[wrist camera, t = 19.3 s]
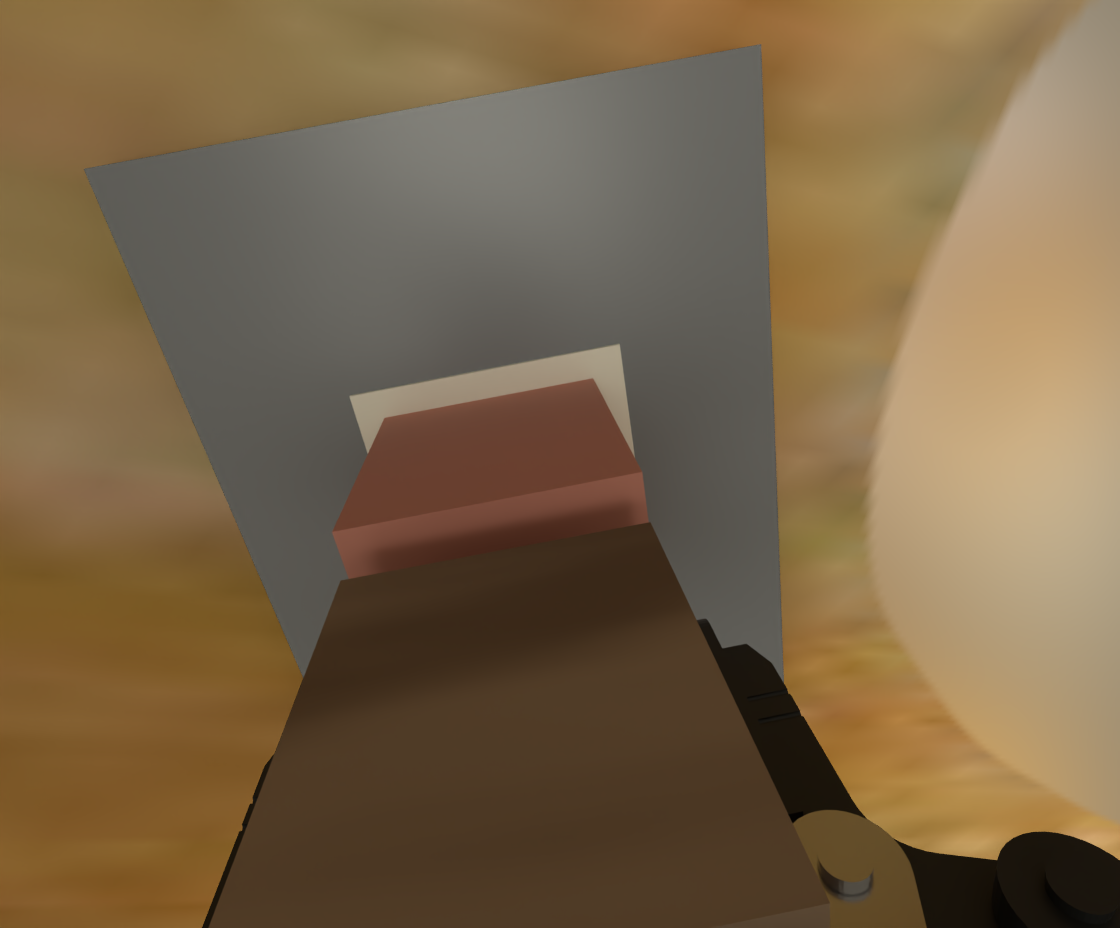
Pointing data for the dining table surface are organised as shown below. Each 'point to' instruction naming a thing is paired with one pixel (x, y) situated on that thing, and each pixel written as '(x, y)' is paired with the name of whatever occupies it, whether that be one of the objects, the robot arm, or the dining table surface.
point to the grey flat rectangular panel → (479, 306)
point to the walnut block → (519, 760)
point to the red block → (489, 480)
